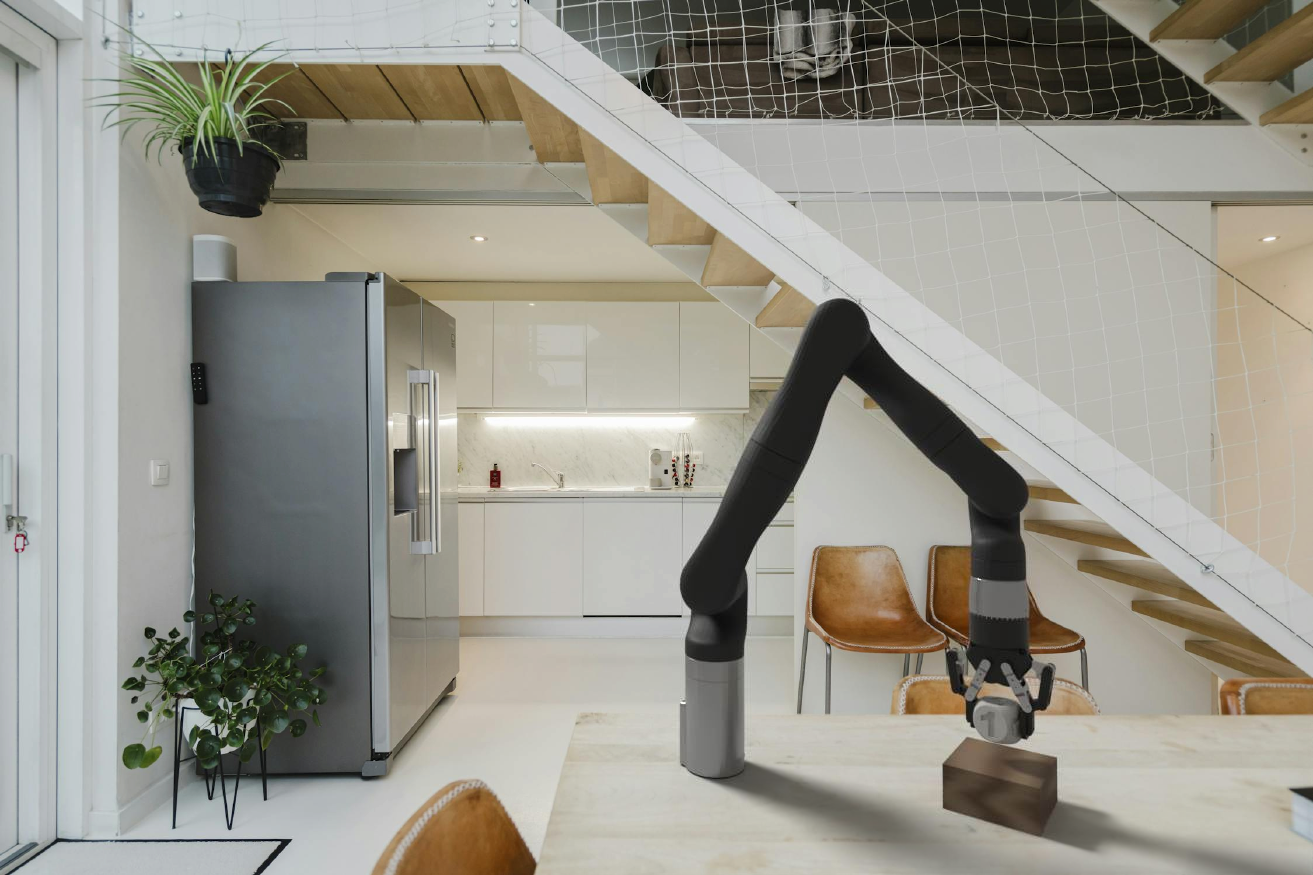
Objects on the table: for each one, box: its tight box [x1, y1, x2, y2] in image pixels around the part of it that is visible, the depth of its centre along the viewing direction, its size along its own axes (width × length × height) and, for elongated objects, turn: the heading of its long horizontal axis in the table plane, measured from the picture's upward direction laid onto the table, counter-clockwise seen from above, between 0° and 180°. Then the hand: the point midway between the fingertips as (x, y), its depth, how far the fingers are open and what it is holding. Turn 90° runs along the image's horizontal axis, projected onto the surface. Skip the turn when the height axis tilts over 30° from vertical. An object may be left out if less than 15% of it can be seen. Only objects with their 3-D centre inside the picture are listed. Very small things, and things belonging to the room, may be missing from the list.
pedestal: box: [941, 736, 1059, 837], centre depth 101 cm, size 12×12×6 cm
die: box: [973, 695, 1022, 745], centre depth 101 cm, size 5×5×5 cm
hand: (999, 731), depth 101 cm, fingers closed on die, 6 cm apart
